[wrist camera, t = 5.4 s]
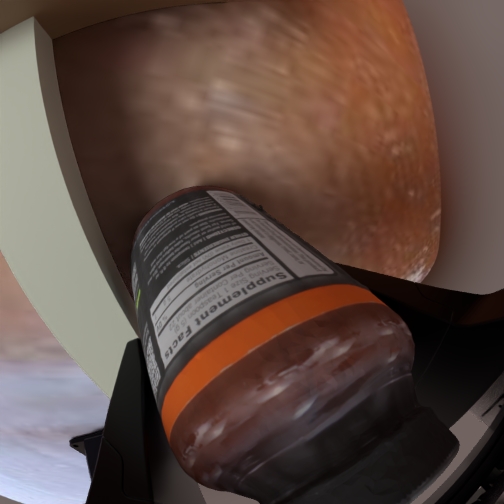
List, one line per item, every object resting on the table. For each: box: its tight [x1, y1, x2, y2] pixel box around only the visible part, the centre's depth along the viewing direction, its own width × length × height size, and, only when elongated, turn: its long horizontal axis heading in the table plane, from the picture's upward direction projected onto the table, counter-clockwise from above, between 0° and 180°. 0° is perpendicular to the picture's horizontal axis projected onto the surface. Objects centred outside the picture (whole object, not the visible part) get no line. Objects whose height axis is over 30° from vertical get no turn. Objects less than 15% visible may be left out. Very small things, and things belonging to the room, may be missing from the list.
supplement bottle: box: [130, 186, 460, 504], centre depth 8 cm, size 6×6×11 cm
